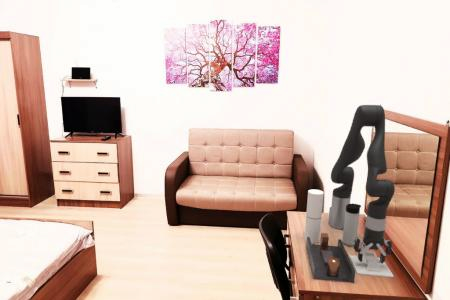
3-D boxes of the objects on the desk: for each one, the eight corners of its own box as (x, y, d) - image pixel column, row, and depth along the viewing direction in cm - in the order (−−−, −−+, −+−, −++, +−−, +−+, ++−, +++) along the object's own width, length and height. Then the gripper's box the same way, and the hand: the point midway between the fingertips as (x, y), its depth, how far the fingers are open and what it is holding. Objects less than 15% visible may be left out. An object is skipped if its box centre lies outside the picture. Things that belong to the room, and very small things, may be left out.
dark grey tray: (306, 246, 155) (307, 231, 153) (339, 249, 153) (341, 234, 151) (313, 278, 130) (315, 261, 128) (353, 282, 128) (355, 265, 126)
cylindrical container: (303, 241, 160) (307, 193, 154) (305, 235, 166) (309, 188, 161) (318, 244, 157) (322, 195, 152) (320, 238, 163) (324, 190, 158)
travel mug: (357, 247, 155) (362, 207, 151) (343, 245, 156) (347, 206, 152) (355, 241, 161) (359, 203, 157) (341, 239, 162) (345, 201, 158)
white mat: (349, 256, 147) (349, 255, 147) (381, 259, 145) (382, 258, 145) (357, 274, 133) (357, 273, 133) (393, 277, 132) (393, 276, 131)
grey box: (361, 259, 144) (362, 249, 143) (373, 260, 143) (374, 250, 142) (367, 270, 135) (368, 260, 134) (379, 271, 134) (381, 261, 133)
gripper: (390, 223, 138) (385, 258, 142) (354, 221, 140) (351, 255, 143) (396, 231, 131) (391, 268, 134) (359, 228, 133) (355, 265, 136)
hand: (370, 261), depth 139 cm, fingers open, 8 cm apart
